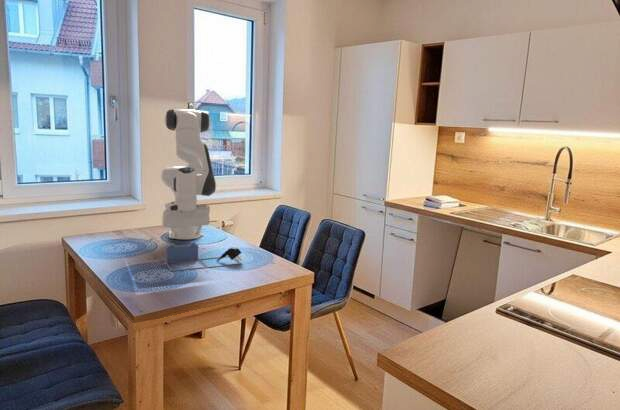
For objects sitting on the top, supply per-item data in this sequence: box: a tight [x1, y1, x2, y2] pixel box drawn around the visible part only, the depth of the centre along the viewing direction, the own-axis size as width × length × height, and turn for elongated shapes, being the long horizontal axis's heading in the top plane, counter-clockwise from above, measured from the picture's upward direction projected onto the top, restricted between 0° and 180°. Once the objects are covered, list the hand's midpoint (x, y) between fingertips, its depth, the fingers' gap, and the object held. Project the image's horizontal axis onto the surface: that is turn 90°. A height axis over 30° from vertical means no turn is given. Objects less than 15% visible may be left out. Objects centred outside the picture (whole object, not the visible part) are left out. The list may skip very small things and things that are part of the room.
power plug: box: [216, 246, 243, 263], centre depth 204 cm, size 6×8×12 cm
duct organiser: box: [164, 241, 243, 272], centre depth 202 cm, size 15×32×8 cm, turn 118°
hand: (186, 235), depth 196 cm, fingers open, 8 cm apart
